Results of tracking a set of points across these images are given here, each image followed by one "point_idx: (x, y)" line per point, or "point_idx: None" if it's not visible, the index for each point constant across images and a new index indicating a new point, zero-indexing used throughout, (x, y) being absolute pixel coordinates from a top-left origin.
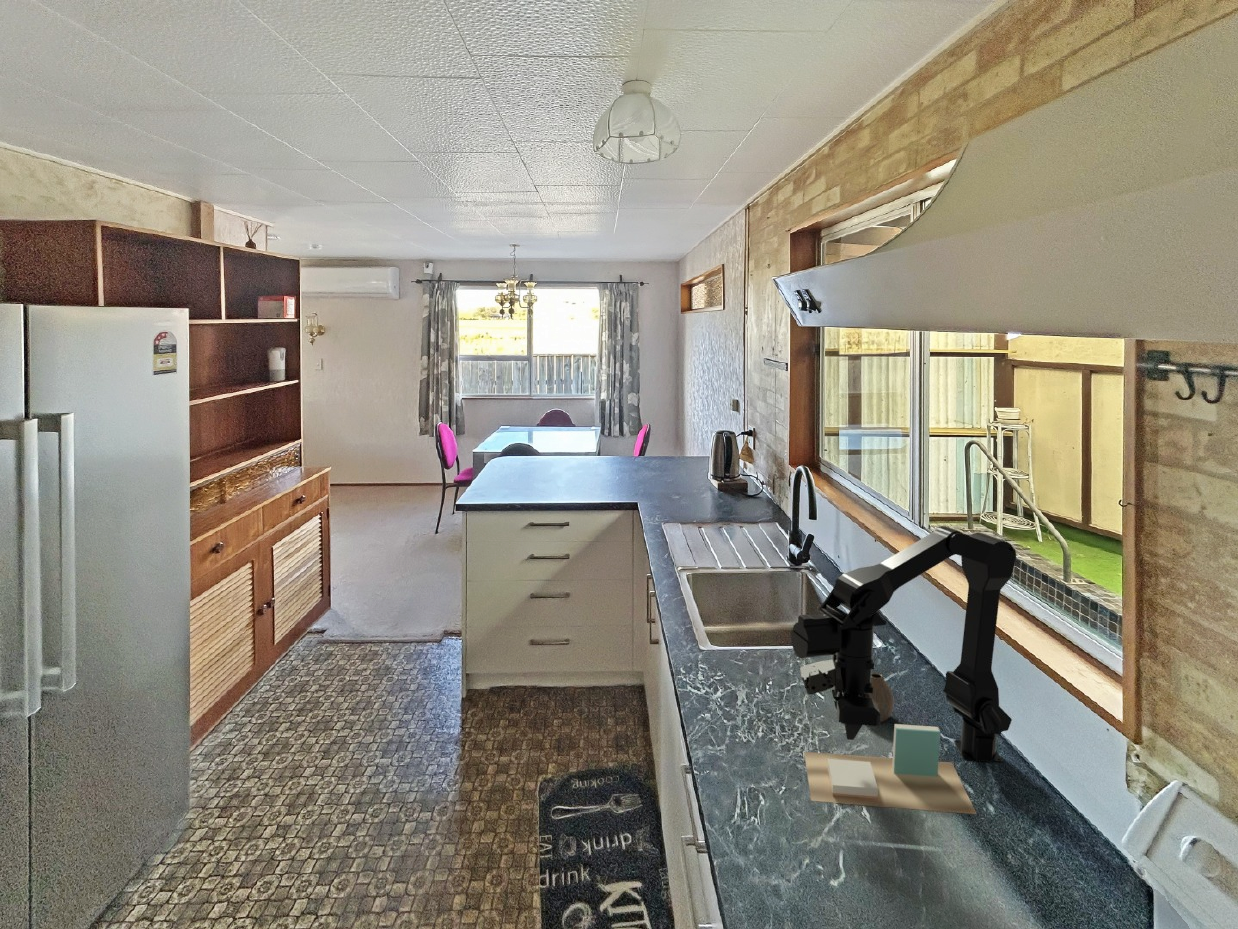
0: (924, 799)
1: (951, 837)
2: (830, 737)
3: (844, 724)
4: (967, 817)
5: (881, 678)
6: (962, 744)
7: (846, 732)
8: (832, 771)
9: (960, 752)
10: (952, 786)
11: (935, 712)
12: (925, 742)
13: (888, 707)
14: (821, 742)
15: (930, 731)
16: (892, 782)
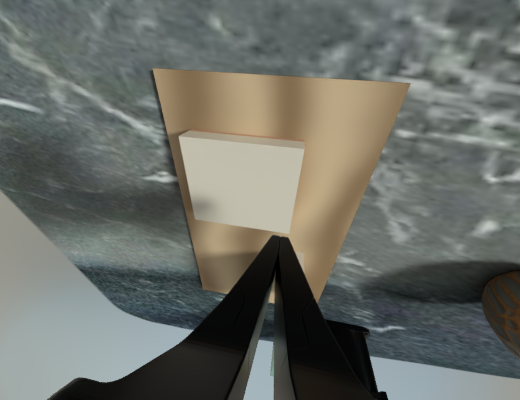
0: (218, 259)
1: (156, 254)
2: (476, 181)
3: (292, 269)
4: (200, 279)
5: None
6: (341, 339)
7: (259, 252)
8: (239, 148)
9: (335, 326)
10: None
11: (472, 346)
12: None
13: (497, 334)
14: (459, 152)
15: (271, 370)
16: (256, 240)
